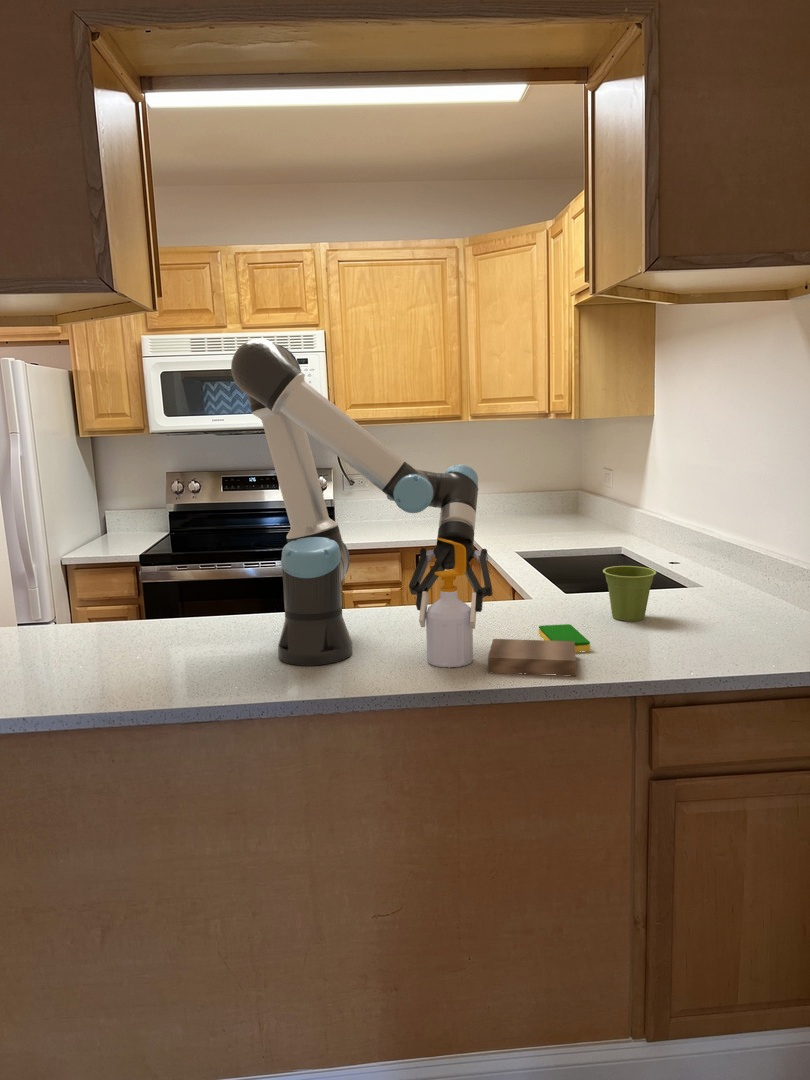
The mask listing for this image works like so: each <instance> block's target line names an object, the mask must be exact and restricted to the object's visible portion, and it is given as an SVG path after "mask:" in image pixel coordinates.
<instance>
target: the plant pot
mask: <svg viewBox="0 0 810 1080" xmlns="http://www.w3.org/2000/svg"><path fill="white" fill-rule="evenodd" d="M602 572H603V574H605V580H606V583H607V589H608V595H609V601H610V602H609V603H610V609H611V616H612V618H614V619H615V620H616V621H617V620H618V621H623V620H624V621H627V622H640V621H642V620H644V619H645V616H646V611H647V607H648V606H647V605H648V601H649V598H650V597H649V596H650V591H651V586H652V584H653V580H654V576H655V575H656V574H657V571H656V570H655V569H652V568H649V567H643V566H638V565H637V566H635V565H634V566H633V565H618V566H617V565H616V566H609V567H605V568H604V569H603V570H602Z"/></svg>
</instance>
